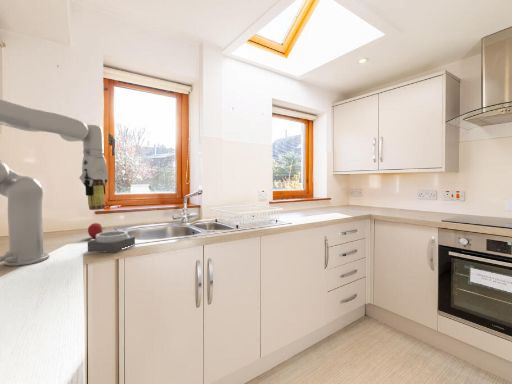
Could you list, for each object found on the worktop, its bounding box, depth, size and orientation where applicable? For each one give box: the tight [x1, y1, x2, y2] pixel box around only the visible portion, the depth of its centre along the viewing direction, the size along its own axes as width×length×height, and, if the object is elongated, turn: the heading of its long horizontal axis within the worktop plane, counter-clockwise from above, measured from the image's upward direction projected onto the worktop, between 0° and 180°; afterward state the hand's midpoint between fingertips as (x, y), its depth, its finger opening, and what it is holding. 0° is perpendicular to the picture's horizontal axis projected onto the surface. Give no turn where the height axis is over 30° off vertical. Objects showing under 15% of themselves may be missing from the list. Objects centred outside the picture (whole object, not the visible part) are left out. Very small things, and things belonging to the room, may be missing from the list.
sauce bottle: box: [87, 178, 106, 211], centre depth 115 cm, size 6×6×20 cm
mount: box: [87, 230, 136, 254], centre depth 115 cm, size 13×13×6 cm
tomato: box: [87, 222, 106, 239], centre depth 136 cm, size 8×8×8 cm
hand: (95, 194), depth 115 cm, fingers closed on sauce bottle, 6 cm apart
